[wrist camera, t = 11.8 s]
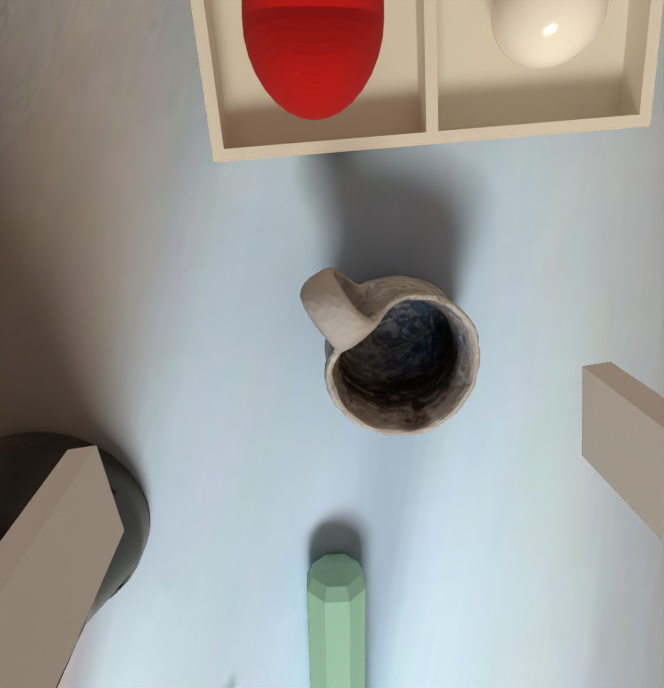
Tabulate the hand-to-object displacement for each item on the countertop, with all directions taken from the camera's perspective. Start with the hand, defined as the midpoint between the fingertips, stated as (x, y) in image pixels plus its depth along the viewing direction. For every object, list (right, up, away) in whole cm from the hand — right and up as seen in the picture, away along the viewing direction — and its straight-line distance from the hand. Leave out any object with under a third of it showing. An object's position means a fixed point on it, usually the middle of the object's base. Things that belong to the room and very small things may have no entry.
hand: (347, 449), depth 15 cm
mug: (+2, +5, +25) cm, 26 cm away
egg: (+11, +22, +18) cm, 31 cm away
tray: (+5, +22, +19) cm, 29 cm away
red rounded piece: (-1, +21, +18) cm, 28 cm away
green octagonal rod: (0, -26, +36) cm, 44 cm away
